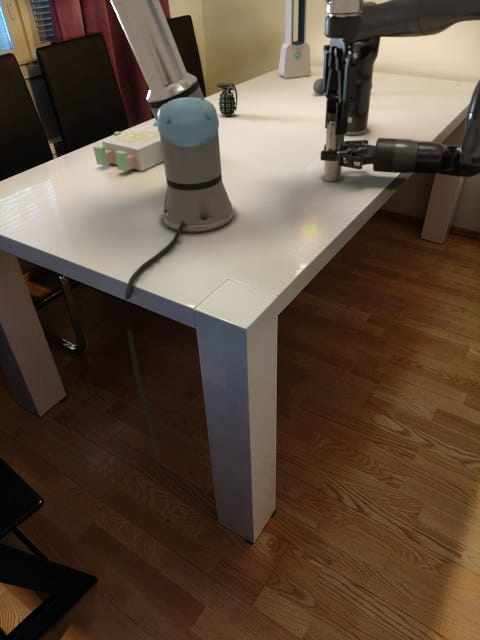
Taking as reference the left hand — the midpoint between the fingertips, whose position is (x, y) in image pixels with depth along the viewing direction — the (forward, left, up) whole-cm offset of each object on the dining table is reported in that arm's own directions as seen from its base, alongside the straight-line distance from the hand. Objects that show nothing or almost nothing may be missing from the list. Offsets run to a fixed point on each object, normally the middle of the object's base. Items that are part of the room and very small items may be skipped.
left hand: (335, 130), depth 114 cm
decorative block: (-5, +55, -12) cm, 56 cm away
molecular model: (+74, +22, -12) cm, 78 cm away
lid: (0, 0, +4) cm, 4 cm away
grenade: (+40, +52, -12) cm, 67 cm away
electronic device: (+103, +55, -12) cm, 117 cm away
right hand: (-1, +3, -5) cm, 6 cm away
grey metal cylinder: (0, 0, -12) cm, 12 cm away
